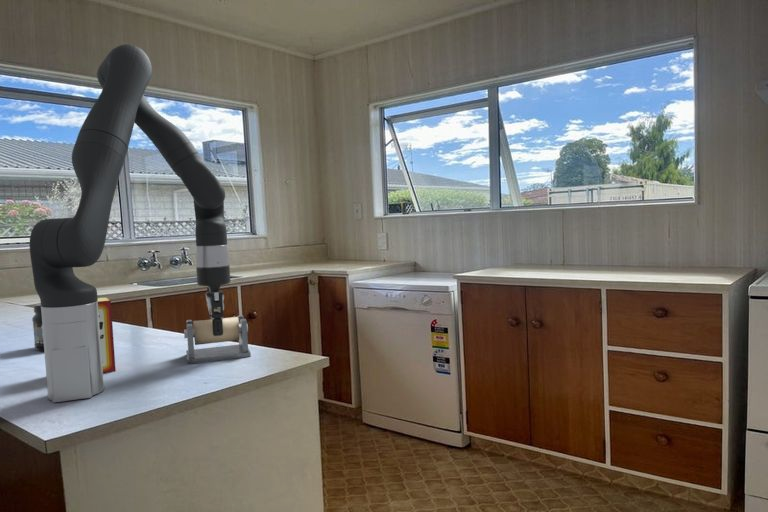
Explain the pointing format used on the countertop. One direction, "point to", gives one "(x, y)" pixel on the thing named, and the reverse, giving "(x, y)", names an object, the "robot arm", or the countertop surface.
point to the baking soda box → (106, 334)
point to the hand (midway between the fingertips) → (216, 332)
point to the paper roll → (205, 331)
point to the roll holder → (218, 352)
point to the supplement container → (38, 328)
